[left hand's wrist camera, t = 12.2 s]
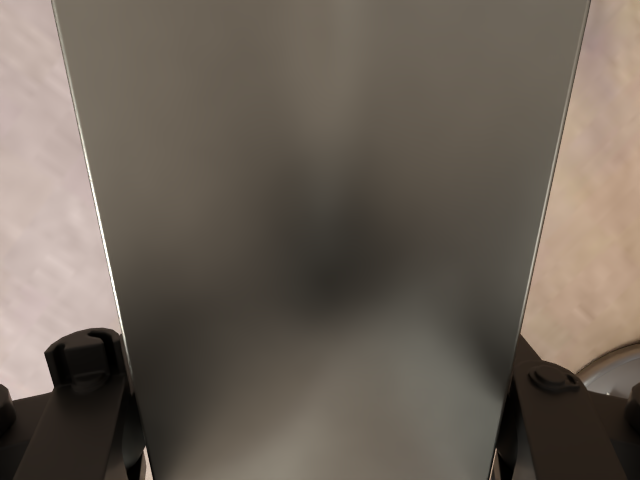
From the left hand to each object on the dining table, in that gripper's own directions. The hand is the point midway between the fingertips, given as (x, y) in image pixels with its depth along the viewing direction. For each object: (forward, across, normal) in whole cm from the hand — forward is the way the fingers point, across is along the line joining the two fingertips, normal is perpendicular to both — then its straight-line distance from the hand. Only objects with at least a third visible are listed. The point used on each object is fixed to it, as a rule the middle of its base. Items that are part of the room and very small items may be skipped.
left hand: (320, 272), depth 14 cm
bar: (+1, 0, -9) cm, 9 cm away
